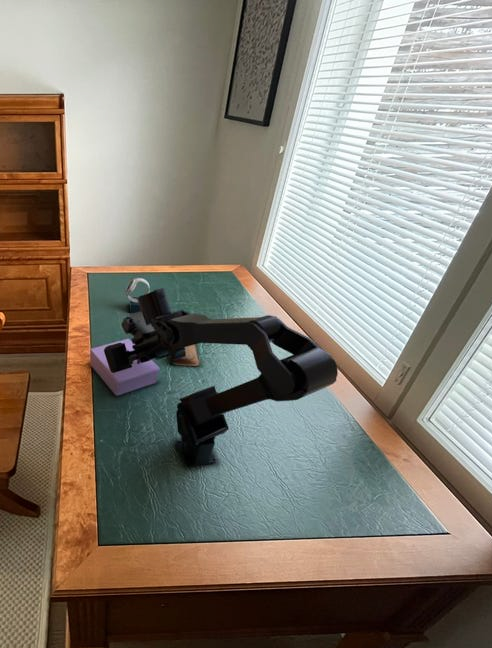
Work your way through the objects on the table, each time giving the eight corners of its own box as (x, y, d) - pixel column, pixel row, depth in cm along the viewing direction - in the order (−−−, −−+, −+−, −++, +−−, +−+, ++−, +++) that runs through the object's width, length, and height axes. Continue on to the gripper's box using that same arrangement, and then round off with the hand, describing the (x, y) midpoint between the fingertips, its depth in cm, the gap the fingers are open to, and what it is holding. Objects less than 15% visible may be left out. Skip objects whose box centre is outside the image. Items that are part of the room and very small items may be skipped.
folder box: (156, 382, 100) (158, 369, 97) (116, 396, 95) (117, 382, 92) (127, 353, 110) (128, 340, 107) (89, 364, 105) (90, 351, 103)
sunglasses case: (201, 365, 105) (192, 347, 102) (177, 374, 108) (167, 356, 104) (193, 331, 120) (185, 314, 116) (172, 339, 122) (164, 323, 119)
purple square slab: (159, 370, 97) (162, 356, 94) (118, 384, 92) (119, 368, 89) (128, 340, 107) (129, 326, 105) (90, 351, 103) (90, 336, 100)
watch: (124, 304, 134) (126, 275, 127) (147, 305, 133) (150, 276, 127) (124, 312, 129) (126, 282, 123) (148, 313, 129) (151, 283, 122)
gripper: (181, 299, 87) (149, 319, 101) (109, 316, 80) (85, 335, 94) (197, 345, 86) (162, 359, 100) (126, 367, 79) (99, 378, 93)
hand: (128, 357), depth 97 cm, fingers closed on purple square slab, 5 cm apart
